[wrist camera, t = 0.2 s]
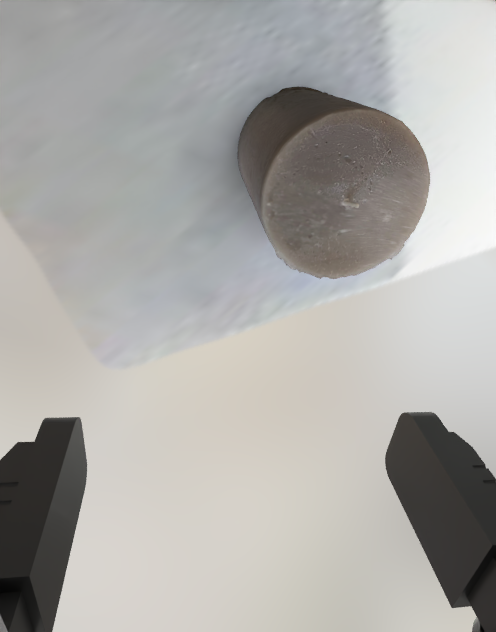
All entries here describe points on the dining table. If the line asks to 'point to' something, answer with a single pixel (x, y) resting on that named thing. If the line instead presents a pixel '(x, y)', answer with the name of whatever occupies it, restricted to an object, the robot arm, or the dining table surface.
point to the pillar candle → (332, 181)
